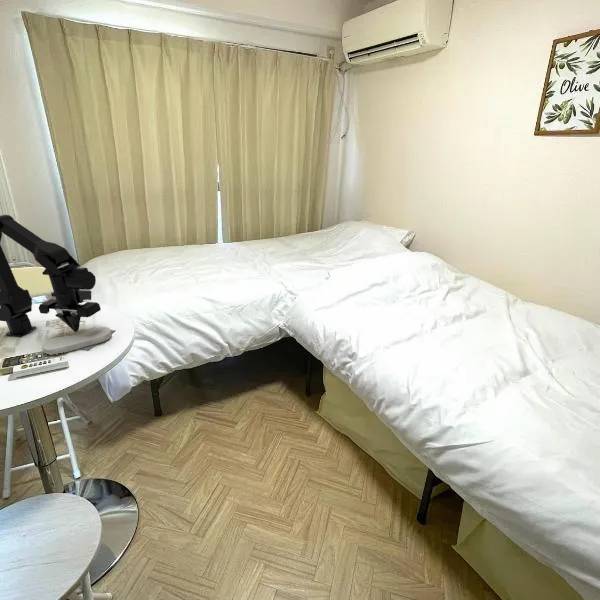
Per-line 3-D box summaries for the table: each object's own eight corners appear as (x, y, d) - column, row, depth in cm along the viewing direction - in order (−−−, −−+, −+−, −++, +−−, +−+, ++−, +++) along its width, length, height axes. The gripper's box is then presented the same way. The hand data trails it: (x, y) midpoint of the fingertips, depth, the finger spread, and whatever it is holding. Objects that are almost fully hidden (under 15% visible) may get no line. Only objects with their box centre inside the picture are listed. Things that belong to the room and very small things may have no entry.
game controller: (43, 347, 120) (44, 359, 114) (41, 341, 119) (42, 352, 113) (109, 330, 130) (114, 340, 124) (108, 324, 129) (112, 334, 123)
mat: (66, 348, 120) (66, 347, 120) (95, 329, 132) (95, 328, 131) (88, 350, 118) (88, 349, 118) (115, 331, 130) (115, 330, 130)
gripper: (106, 280, 124) (117, 322, 130) (58, 277, 128) (71, 318, 134) (81, 293, 114) (94, 338, 120) (30, 289, 118) (45, 333, 124)
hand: (76, 331), depth 125 cm, fingers closed
